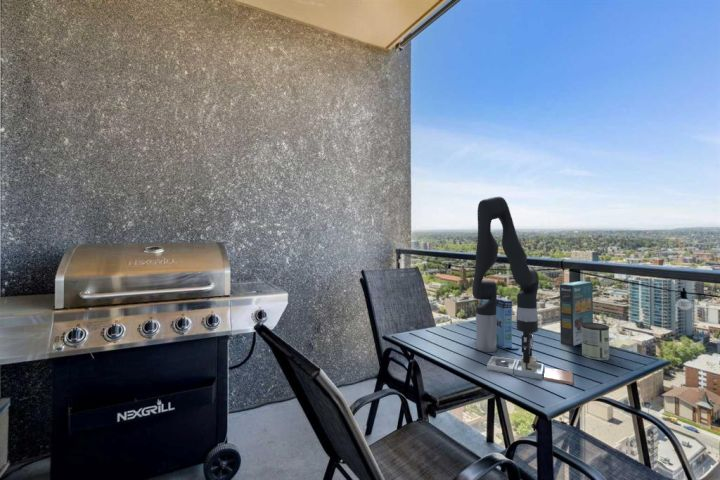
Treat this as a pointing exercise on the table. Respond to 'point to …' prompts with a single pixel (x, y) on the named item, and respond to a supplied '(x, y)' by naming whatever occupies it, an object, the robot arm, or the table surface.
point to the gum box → (503, 322)
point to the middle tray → (536, 375)
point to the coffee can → (595, 341)
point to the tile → (558, 376)
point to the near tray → (493, 367)
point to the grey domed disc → (502, 363)
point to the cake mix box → (575, 310)
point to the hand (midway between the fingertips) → (527, 359)
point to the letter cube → (529, 364)
